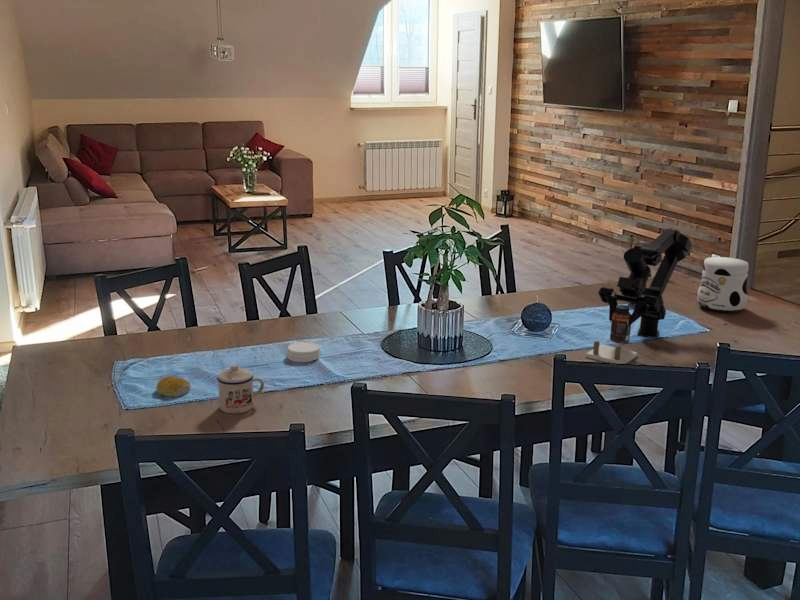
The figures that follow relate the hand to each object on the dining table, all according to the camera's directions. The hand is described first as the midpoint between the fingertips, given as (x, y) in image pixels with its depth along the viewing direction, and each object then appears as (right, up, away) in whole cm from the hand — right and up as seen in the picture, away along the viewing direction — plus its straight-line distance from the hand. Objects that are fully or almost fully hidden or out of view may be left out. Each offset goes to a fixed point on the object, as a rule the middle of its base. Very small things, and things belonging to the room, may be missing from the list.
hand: (619, 322), depth 249 cm
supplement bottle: (+1, -6, +3) cm, 7 cm away
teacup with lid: (-109, -21, -38) cm, 118 cm away
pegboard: (-2, -11, 0) cm, 11 cm away
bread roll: (-130, -18, -29) cm, 134 cm away
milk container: (+51, +3, +51) cm, 72 cm away
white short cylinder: (-97, -11, -3) cm, 98 cm away
